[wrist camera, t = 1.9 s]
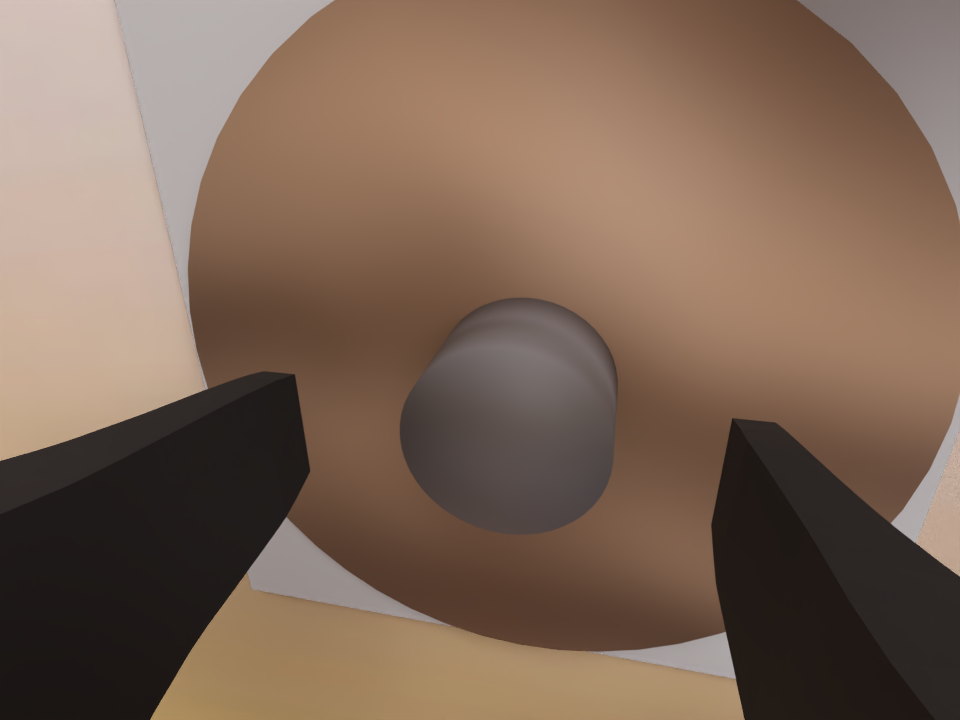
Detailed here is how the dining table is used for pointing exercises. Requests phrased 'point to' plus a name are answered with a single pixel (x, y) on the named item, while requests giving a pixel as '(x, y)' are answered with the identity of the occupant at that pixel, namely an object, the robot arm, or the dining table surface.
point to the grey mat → (290, 3)
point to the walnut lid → (574, 291)
